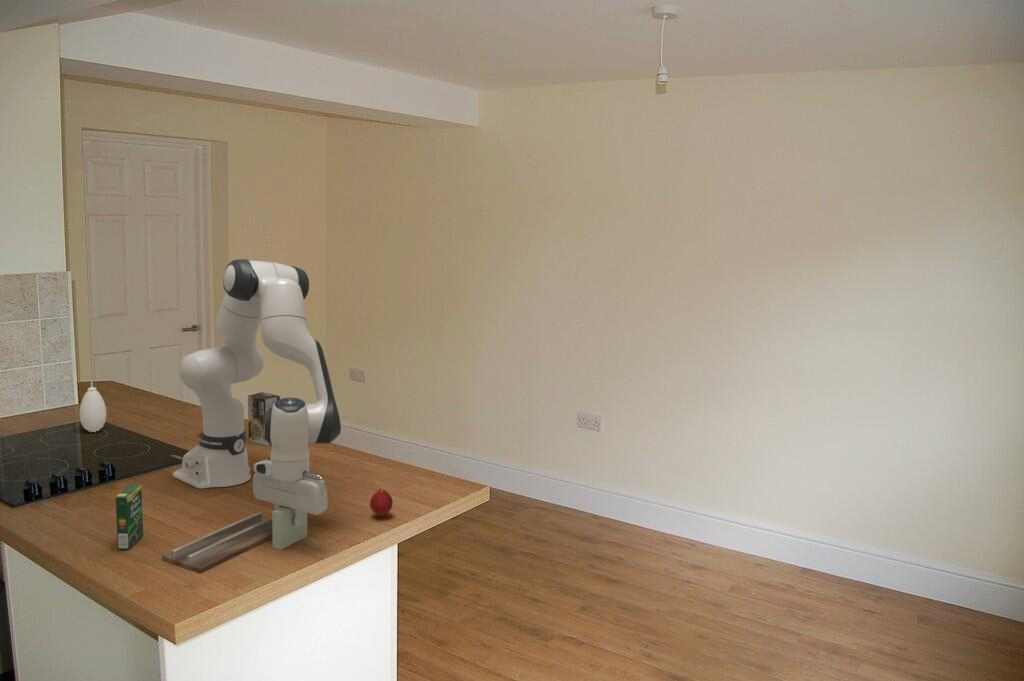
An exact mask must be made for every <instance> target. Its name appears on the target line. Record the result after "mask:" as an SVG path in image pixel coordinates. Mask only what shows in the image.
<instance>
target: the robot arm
mask: <svg viewBox="0 0 1024 681" xmlns="http://www.w3.org/2000/svg"><path fill="white" fill-rule="evenodd" d="M222 278H223V280H222V284H223V289H224V291H225V294H224V295H223V299H222V302H221V305H220V307H219V312H218V314H217V317H216V320H215V323H214V324H215V329H216V332H217V333H218V335H219V336H220V337H221V338H223V342H222V344H221V345H220V346H218V347H213V348H205V349H199V350H197V351H194V352H193V353H190V354H188V355H184V357H183V358H182V359H181V360H180V363H179V368H178V374H179V377H180V380H181V382H182V383H183V384H184V385H185V386H186V387H187V388H189V389H190V390H192V391H193V392H194V393H195V395H196V396H197V398H198V401H199V403H200V407H201V411H202V412H201V414H202V425H203V426H202V427H203V428H202V430H203V432H200V433H197V434H195V435H196V439H198V438H199V440H198V444H197V445H196V446H194V447H193V448H192V449H191V450H189V451H188V452H186V453H185V454H184V455H183V457H182V460H181V468H179V469H177V470H175V471H174V472H173V473H172V477H173V478H174V479H176V480H179V481H182V482H184V483H186V484H187V485H190V486H192V487H195V488H197V489H208V488H224V487H226V488H227V487H234V486H238V485H241V484H244V483H246V482H249V480H251V478H252V492H253V494H252V495H253V496H254V498H255V499H257V500H260V501H263V502H267V503H271V504H274V509H275V510H276V509H278V508H281V507H283V506H284V507H288V508H292V509H295V513H297V515H296V517H295V518H292V525H293V526H297V527H298V526H300V525H301V518H302V517H303V515H304V513H305V512H306V513H307V514H311V515H315V516H318V515H321V514H322V513H325V511H326V510H328V508H329V505H328V503H329V502H328V494H327V493H328V492H327V486H326V481H325V480H324V478H323V477H322V476H321V475H320V474H317V473H312V472H310V451H309V444H318V445H319V444H321V445H324V444H325V445H330V443H332V442H334V441H335V440H336V439H337V438H338V437H339V436H340V434H341V430H342V419H341V418H342V417H341V414H340V411H339V409H338V407H337V403H336V399H335V396H334V395H335V394H334V391H333V387H332V386H333V385H332V383H331V382H332V381H331V377H330V373H329V369H328V365H327V360H326V357H325V354H324V350H323V348H322V346H321V343H320V342H319V341H318V340H316V339H314V337H312V335H311V333H310V331H309V329H308V324H307V313H306V306H305V305H306V304H305V299H306V298H307V296H308V293H309V291H310V280H309V277H308V274H307V272H306V271H305V270H303V269H302V268H300V267H297V266H294V265H287V264H283V263H278V262H273V261H264V260H249V259H247V258H246V259H245V258H241V259H234V260H231V261H230V262H228V264H227V265H226V267H225V270H224V272H223V277H222ZM259 326H260V331H261V333H260V334H261V338H262V342H263V344H264V346H265V347H266V348H267V349H268V350H269V351H270V352H272V354H275V355H276V356H279V357H280V358H284V359H286V360H288V361H292V362H295V363H298V364H300V365H302V366H304V367H305V368H306V369H307V370H308V371H309V373H310V374H311V378H312V382H313V385H314V386H313V387H314V391H315V397H316V400H317V401H316V402H315V403H310V404H309V403H306V401H304V400H303V399H301V398H297V397H283V398H280V399H279V400H277V401H276V402H275V403H274V404H273V406H272V407H271V408H270V409H268V410H267V411H266V413H265V414H264V415H263V422H264V434H263V438H264V439H265V440H266V441H267V442H268V443H269V444H271V451H270V452H271V453H270V456H269V458H266V459H262V460H260V461H258V462H256V463H254V464H253V472H254V475H253V477H252V475H251V471H252V470H251V467H250V466H249V459H248V458H249V456H248V450H247V446H246V444H247V430H246V429H245V406H244V405H243V403H242V402H241V401H240V400H239V399H238V398H235V397H234V396H233V395H232V394H231V391H230V390H231V389H230V385H233V384H238V383H242V382H246V381H249V380H250V379H252V378H255V377H256V376H258V375H260V374H261V373H262V371H263V369H264V364H265V363H264V362H265V360H264V356H263V353H262V351H261V350H260V349H259V348H258V347H257V343H256V341H257V340H256V339H257V335H258V334H257V333H258V330H259Z"/></svg>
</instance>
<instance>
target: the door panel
mask: <svg viewBox="0 0 1024 681" xmlns="http://www.w3.org/2000/svg"><path fill="white" fill-rule="evenodd" d="M271 515H272V516H271V517H272V538H271V539H272V548H273V549H275V548H276V549H275V550H279V551H282V550H284V549H286V548H287V547H290V546H292V545H293V543H294V544H295V543H298V542H299V541H301V540H303V539H305V538H307V537H308V513H306V512H305V513H304V515H303V517H302V518H301V525H300V526H298V527H297V526H293V525H292V518H295V517H296V515H297V513H295V509H292V508H288V507H284V506H283V507H281V508H278V509H275V510H272V512H271ZM291 544H292V545H291ZM283 548H284V549H283ZM281 549H282V550H281Z"/></svg>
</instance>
